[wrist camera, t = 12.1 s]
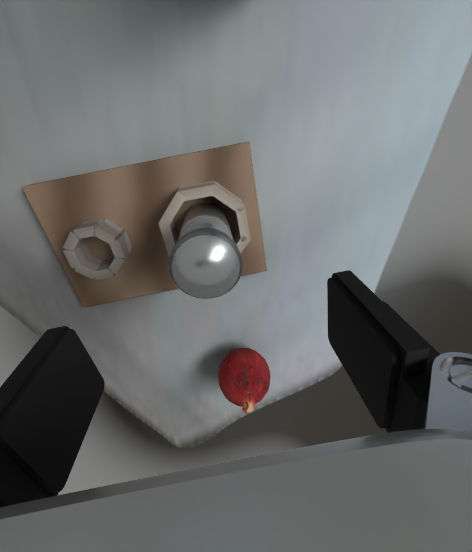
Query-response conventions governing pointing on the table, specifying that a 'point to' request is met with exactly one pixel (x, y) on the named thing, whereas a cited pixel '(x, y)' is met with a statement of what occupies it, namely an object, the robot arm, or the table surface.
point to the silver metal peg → (205, 253)
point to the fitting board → (144, 219)
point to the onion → (244, 378)
